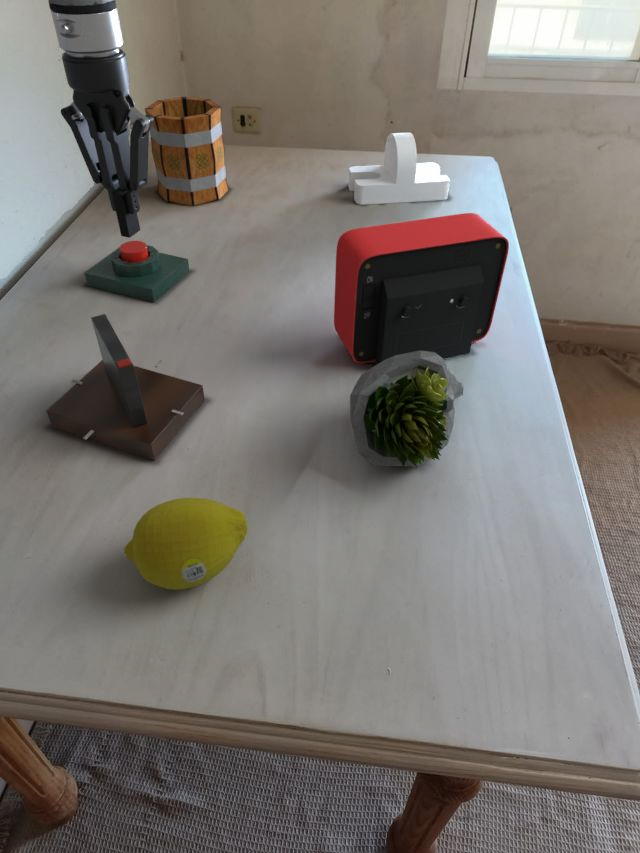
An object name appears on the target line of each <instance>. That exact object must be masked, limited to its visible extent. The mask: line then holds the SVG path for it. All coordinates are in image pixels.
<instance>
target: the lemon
mask: <svg viewBox="0 0 640 853" xmlns="http://www.w3.org/2000/svg"><path fill="white" fill-rule="evenodd" d="M247 535H248V522H247V518H246V515H245V514H244V512H243V511H241V510H239V509H236V508H233V507H230V506H228V505H226V504H225V503H222V502H219V501H215V500H214V499H208V498H204V497H181V498H176V499H172V500H168V501H163V502H162V503H159V504H156V505H155V506H153V507H152V508H150V509H148V510H147V511H146V512H145V513H144V514H142V516H141V517H140V519H139V520H138V521H137V523H136V525H135V527H134V529H133V534H132V538H131V540H130V541H128V543H126V545H125V547H124V555H125V557H126V559H127V560H129V561H131V562H132V563H133V564H134V565H135V566H136V568H137V571H138V572H139V574H140V575H141V577H142V578H143V579H144V580H145V581H146V582H148V583H150V584H151V585H153V586H157V587H160V588H162V589H166V590H174V591H179V590H186V589H191V588H195V587H197V586H201V585H203V584H205V583H207V582H209V581H210V580H213V579H214V578H215V577H217V576H218V575H219V574H220V573H221V572H222V571H224V569H225V568H226V567H227V566H228V565H229V564H230V563H231V561H232V560H233V558H234V556H235V555H236V553H237V551H238V549H239V548H240V546H241V544H242V543H243V541H244V540H245V538H246V537H247Z"/></svg>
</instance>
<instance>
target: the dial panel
mask: <svg viewBox="0 0 640 853" xmlns="http://www.w3.org/2000/svg"><path fill="white" fill-rule="evenodd" d="M162 363H164V359H163V360H162V359H160V360H159V361H158V362H157V363H156V364H155V365H154V368H157V369H158V368H159V367H160V366H161V365H162ZM134 368H135V372H136V377H137V381H138V385H139V389H140V394H141V398H142V402H143V406H144V410H145V415H146V419H147V423H146V424H143V425H140V426H137V427H133V426H132V424H131V422H130V420H129V418H128V416H127V414H126V412H125V410H124V408H123V406H122V404H121V402H120V400H119V398H118V396H117V394H116V391H115V389H114V387H113V385H112V383H111V381H110V379H109V377H108V375H107V373H106V370H105V366H104V363H103V359H102V360H100V362H98V363H97V364H96V365H95V366H94V367H93V368H92V369H90V371H88V372H87V373H86V374H85V375H84V376H83V377H82V378H80V379H79V380H76V379H72V380H71V381H70V382H71V383H73V384H74V385H72V387H71V388H70V389H68V390H67V391H66V392H64V394H63V395H61V396H60V397H59V399H57V400H56V401H55V402H54V403H53V404H52V405H51V406H49V407H48V409H46V410H45V412H46V415H47V418H48V420H49V422H50V423H49V424H50V425H51V428H55V429H58V430H60V431H64V432H66V433H70V434H73V435H77V436H79V437H81V438H82V439H83V440H85V441H87V439H88V440H92V441H94V442H97V443H99V444H100V443H101V444H102V445H106V446H110V447H112V448H115V449H119V450H122V451H124V452H127V453H131V454H133V455H137V456H140V457H142V458H146V459H149V460H152V461H156V460H157V459H158V458H159V456H160V455H161V454H162V452H163V451H164V450H165V449H166V448H167V447H168V445H169V444H170V443H171V442H172V441H173V439H174V438H175V437H176V436H177V435H178V433H179V432H180V431H181V430H182V429H183V428H184V426H186V425H187V423H188V422H189V421H190V420H191V418H192V417H193V416H194V415H195V413H196V412H197V411H198V410H199V408H200V407H201V406H202V405H203V404H204V403H205V401H206V399H205V392H204V386H203V384H201V383H200V384H199V383H197V382H192V381H189V380H185V379H182V378H179V377H175V376H171V375H168V374H164V373H161V372H158V371H154V370H151V369H147V368H143V367H140V366H137V365H134Z"/></svg>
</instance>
